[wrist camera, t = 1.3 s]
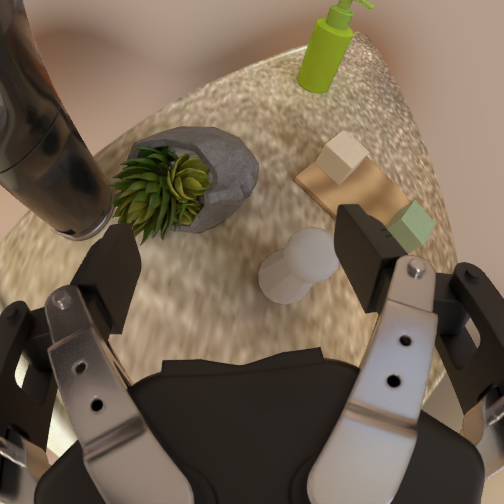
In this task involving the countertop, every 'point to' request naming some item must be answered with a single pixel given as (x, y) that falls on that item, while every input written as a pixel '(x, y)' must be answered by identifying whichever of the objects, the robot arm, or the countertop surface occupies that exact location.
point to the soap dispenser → (327, 47)
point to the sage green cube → (411, 226)
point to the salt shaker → (298, 266)
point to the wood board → (355, 190)
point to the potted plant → (184, 180)
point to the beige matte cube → (341, 157)
